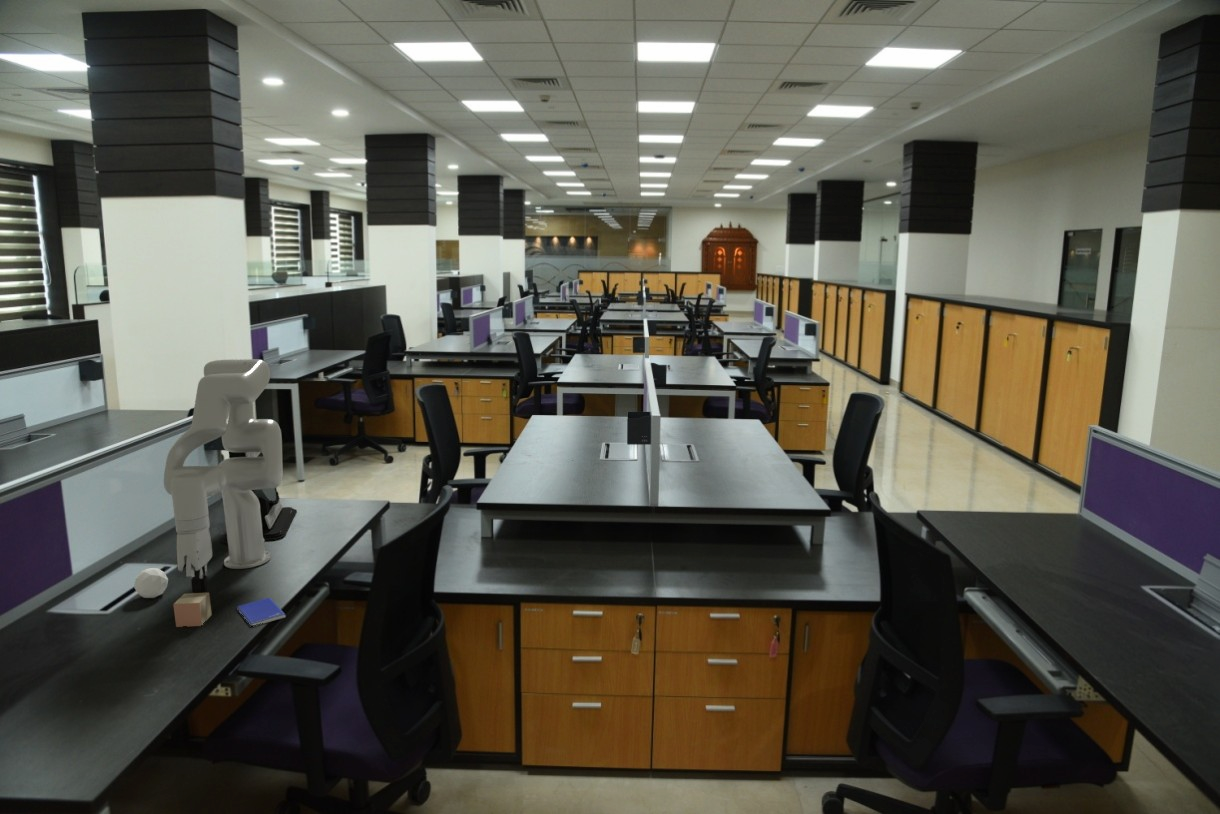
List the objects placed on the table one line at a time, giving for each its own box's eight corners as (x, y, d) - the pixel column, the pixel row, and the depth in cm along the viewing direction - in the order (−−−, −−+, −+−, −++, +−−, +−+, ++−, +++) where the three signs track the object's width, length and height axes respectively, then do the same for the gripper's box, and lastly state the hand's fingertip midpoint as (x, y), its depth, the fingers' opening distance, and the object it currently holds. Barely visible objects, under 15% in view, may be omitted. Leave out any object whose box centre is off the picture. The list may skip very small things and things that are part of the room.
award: (283, 540, 249) (274, 449, 243) (219, 545, 245) (209, 452, 239) (298, 510, 278) (290, 428, 272) (241, 514, 274) (232, 431, 268)
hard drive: (285, 613, 196) (270, 597, 205) (250, 623, 191) (237, 605, 200) (285, 619, 196) (270, 602, 205) (251, 629, 191) (237, 611, 200)
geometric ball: (159, 607, 208) (159, 590, 203) (128, 598, 207) (127, 582, 202) (173, 583, 214) (173, 567, 209) (143, 575, 213) (142, 558, 208)
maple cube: (184, 593, 196) (173, 604, 190) (209, 592, 196) (199, 603, 191) (186, 615, 197) (176, 627, 191) (211, 614, 198) (201, 625, 192)
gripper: (189, 514, 202) (197, 580, 205) (163, 534, 187) (172, 605, 191) (219, 512, 203) (227, 579, 206) (196, 532, 188) (204, 603, 192)
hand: (200, 591), depth 199 cm, fingers closed
